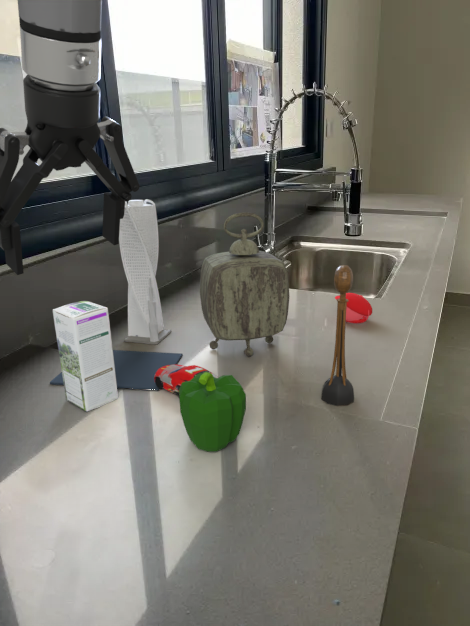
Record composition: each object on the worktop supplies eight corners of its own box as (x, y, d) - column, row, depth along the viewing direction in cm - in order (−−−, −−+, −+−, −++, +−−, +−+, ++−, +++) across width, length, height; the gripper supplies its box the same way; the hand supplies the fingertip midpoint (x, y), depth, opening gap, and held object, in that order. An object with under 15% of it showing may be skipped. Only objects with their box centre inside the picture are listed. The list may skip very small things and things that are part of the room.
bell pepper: (210, 416, 69) (207, 349, 65) (258, 436, 64) (257, 365, 60) (165, 443, 62) (160, 371, 59) (214, 468, 57) (211, 390, 54)
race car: (148, 384, 77) (146, 360, 76) (174, 373, 81) (174, 350, 80) (206, 414, 69) (206, 388, 68) (233, 400, 73) (233, 376, 71)
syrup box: (119, 398, 74) (110, 305, 69) (85, 413, 70) (72, 316, 65) (98, 387, 78) (87, 298, 73) (63, 401, 73) (50, 308, 69)
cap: (372, 317, 107) (374, 291, 105) (370, 327, 102) (372, 298, 100) (335, 314, 110) (336, 288, 108) (331, 323, 104) (332, 295, 102)
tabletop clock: (275, 339, 96) (277, 208, 88) (291, 357, 88) (295, 214, 80) (202, 347, 93) (196, 211, 85) (211, 366, 84) (206, 218, 76)
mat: (49, 384, 79) (49, 382, 79) (88, 350, 92) (88, 348, 92) (158, 391, 76) (158, 388, 76) (182, 355, 89) (182, 353, 89)
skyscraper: (117, 340, 97) (102, 193, 88) (136, 327, 104) (124, 189, 95) (157, 344, 94) (146, 193, 86) (173, 330, 102) (165, 189, 93)
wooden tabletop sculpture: (322, 386, 77) (327, 259, 70) (353, 388, 76) (361, 259, 69) (320, 404, 71) (326, 268, 65) (354, 407, 70) (362, 269, 64)
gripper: (-49, 99, 41) (-19, 300, 54) (178, 85, 57) (160, 242, 70) (-87, 70, 44) (-49, 266, 57) (138, 64, 60) (127, 218, 73)
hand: (65, 253), depth 64 cm, fingers open, 13 cm apart
